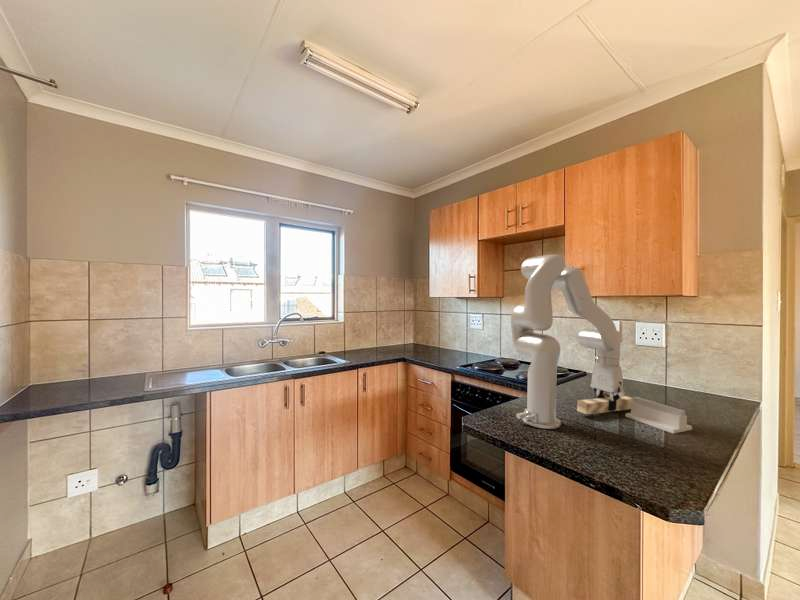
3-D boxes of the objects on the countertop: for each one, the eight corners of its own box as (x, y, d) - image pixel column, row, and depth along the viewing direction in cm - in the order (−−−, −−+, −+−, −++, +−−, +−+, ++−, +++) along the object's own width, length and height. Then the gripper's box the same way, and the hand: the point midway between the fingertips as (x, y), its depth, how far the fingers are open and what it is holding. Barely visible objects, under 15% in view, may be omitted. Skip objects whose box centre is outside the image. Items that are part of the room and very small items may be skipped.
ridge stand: (673, 433, 109) (673, 412, 109) (625, 416, 124) (625, 398, 124) (692, 429, 112) (692, 409, 112) (643, 413, 127) (643, 395, 127)
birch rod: (586, 414, 121) (586, 403, 121) (577, 410, 124) (577, 400, 124) (634, 408, 130) (634, 398, 130) (624, 405, 133) (624, 395, 133)
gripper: (582, 357, 133) (580, 402, 134) (622, 366, 118) (620, 416, 118) (595, 357, 136) (593, 400, 136) (636, 365, 120) (634, 414, 121)
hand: (606, 407), depth 127 cm, fingers closed on birch rod, 4 cm apart
